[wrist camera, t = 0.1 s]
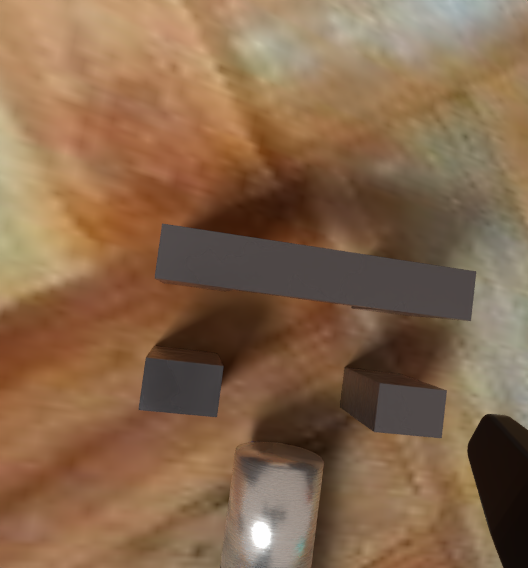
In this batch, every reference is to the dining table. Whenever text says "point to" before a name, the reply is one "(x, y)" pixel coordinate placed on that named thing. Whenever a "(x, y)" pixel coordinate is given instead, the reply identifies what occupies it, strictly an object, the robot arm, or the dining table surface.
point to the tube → (272, 507)
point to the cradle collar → (354, 400)
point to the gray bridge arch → (312, 274)
